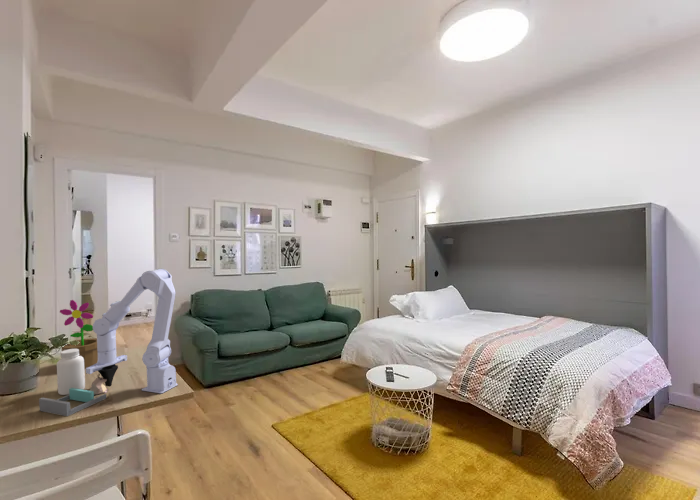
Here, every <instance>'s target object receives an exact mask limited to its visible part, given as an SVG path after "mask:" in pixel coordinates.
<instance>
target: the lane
mask: <svg viewBox="0 0 700 500" xmlns="http://www.w3.org/2000/svg"><path fill="white" fill-rule="evenodd" d="M106 399H107V394H106V393H103V394H102V395H99V396H97V397H94V399H92V400H90V401H88V402H82V403H81V404H79V405H77V406H74V407H72V408H71V402H69V400H71V399H70V396H69V395H63V396H62V397H60V398H58V399H54V398H49V397H48V398H47V397H40V398H38V403H39V404H38V405H39V411H40V412H45V413H49V414H54V415H59V416H64V417H69V416H71V415H73V414H75V413H77V412H80V411H82V410H83V409H86V408H88V407H91V406H93V405H94V404H97V403H99V402H101V401H104V400H106Z"/></svg>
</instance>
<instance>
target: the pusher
mask: <svg viewBox="0 0 700 500" xmlns="http://www.w3.org/2000/svg"><path fill="white" fill-rule="evenodd" d="M69 396H70V399H69V400H71V401H72V400H73V401H77V402H82V403H86V402H88V401H90V400H92V399H95V395H94V391H90V390H89V389H88V390H87V389H83V390H82V389H76V388H71V389H69Z"/></svg>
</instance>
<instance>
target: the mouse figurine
mask: <svg viewBox="0 0 700 500" xmlns="http://www.w3.org/2000/svg"><path fill="white" fill-rule="evenodd" d="M100 376H101V374H100V373H98V374H97V376H96V378H95V379H94V380H93V381H92V383H91V386H90V390H89V391H94V396H95V395H100V394H106V393H108V391H109V389H108V388H107V386H106V385H105V382H106V380H107V379H103V377H100Z"/></svg>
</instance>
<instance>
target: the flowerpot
mask: <svg viewBox="0 0 700 500" xmlns="http://www.w3.org/2000/svg"><path fill="white" fill-rule="evenodd" d="M89 305H90V303H89V302H85V303H82V304H81V305H80V306H79V308H78V304H77V302H76V301H75V300H74V299H71V300H70V301H69V307H70V309H67V308H63V309H60V310H59V313H60V314H61V315H62V316H63V315H64V316H69V317H67V318H66V319H65V321H64V323H63V324H64V326H68V325H71V324H72V323H73V322H74V321H75V323H76V324H75V325H76V326H77V327H78V328H80V332H74V333H72V334H70V335H69V336H70V338H71V337H72V338H80V339H77V341H79V342H80V343H79V344H78V345H76V346H75V345H71V344H67V345H65V346H64V347H62V346H61V352H62V351H64V350H68V349H79V355H78V356H82V357H83V358H84V370H86V368H88V367H90V366H92V365H94V364H96V363H97V361H98V351H97V337H95V338H93V337H91V338H90V337H89V338H84V332H85V331H86V332H92V331H93V325H92V324H87V323H86V324H84V321H83V319H87V320H90V319H93V318H94V315H93V314H91V313H90V312H84V311H86V310H87V309H88V308H89Z"/></svg>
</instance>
